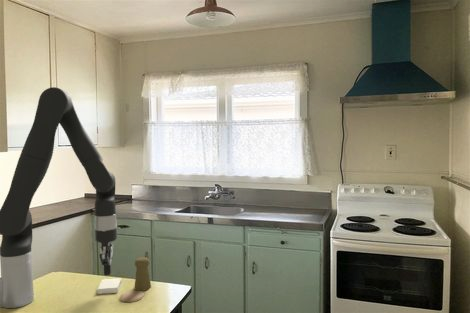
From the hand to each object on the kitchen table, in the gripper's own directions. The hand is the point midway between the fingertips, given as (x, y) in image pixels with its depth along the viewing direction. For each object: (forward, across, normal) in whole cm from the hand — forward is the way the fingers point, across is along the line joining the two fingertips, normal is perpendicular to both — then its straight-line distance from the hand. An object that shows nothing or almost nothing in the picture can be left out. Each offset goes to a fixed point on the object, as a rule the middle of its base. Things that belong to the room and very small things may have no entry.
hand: (107, 274), depth 133 cm
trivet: (+6, +6, +9) cm, 13 cm away
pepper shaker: (+7, -2, +12) cm, 14 cm away
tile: (+6, +1, 0) cm, 6 cm away
